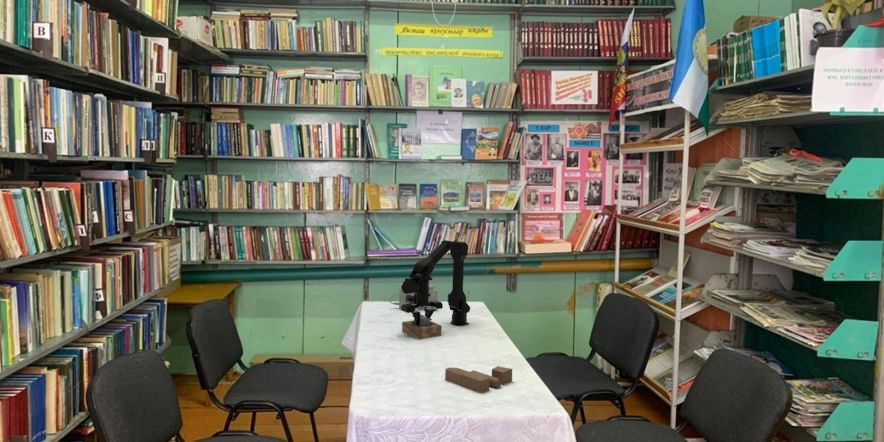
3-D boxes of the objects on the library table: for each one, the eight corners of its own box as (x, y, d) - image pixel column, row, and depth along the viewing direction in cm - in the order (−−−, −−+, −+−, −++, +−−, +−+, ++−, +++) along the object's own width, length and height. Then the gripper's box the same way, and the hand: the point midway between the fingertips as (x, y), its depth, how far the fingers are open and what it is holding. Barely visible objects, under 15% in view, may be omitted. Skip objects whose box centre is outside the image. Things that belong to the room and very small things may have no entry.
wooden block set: (483, 378, 200) (444, 365, 213) (482, 395, 201) (444, 381, 213) (514, 367, 212) (476, 355, 225) (514, 382, 213) (475, 370, 225)
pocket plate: (424, 328, 280) (424, 318, 280) (441, 335, 269) (441, 325, 268) (402, 331, 274) (402, 321, 273) (418, 339, 262) (418, 329, 262)
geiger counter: (438, 283, 317) (390, 281, 320) (436, 285, 311) (388, 283, 313) (437, 309, 318) (390, 307, 321) (436, 312, 312) (388, 310, 314)
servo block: (419, 324, 276) (420, 312, 276) (431, 329, 268) (431, 317, 267) (412, 325, 274) (412, 313, 274) (423, 330, 266) (424, 318, 265)
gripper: (430, 285, 281) (429, 318, 283) (395, 289, 271) (394, 323, 273) (443, 290, 272) (442, 324, 274) (407, 294, 262) (407, 329, 263)
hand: (421, 325), depth 271 cm, fingers closed on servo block, 4 cm apart
